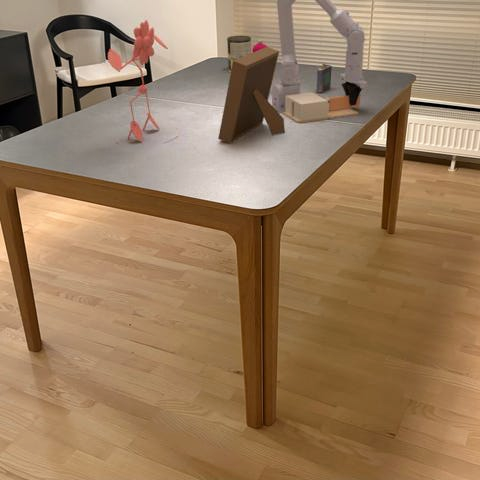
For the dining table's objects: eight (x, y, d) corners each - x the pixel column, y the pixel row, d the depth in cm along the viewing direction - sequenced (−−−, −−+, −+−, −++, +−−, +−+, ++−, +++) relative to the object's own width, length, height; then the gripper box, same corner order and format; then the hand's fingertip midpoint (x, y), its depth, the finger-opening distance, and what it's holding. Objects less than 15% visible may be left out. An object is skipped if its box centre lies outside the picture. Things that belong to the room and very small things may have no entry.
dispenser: (297, 123, 204) (298, 104, 201) (282, 113, 213) (282, 95, 210) (358, 114, 211) (359, 96, 208) (341, 105, 220) (341, 88, 218)
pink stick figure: (110, 147, 187) (97, 27, 170) (153, 122, 208) (146, 13, 191) (154, 154, 182) (145, 30, 165) (194, 128, 203) (189, 16, 186)
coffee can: (223, 70, 272) (222, 37, 266) (241, 67, 278) (240, 34, 272) (238, 74, 265) (237, 40, 259) (256, 70, 271) (255, 37, 265)
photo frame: (218, 141, 189) (215, 58, 177) (251, 122, 206) (250, 45, 194) (261, 149, 183) (262, 63, 171) (291, 128, 199) (294, 49, 187)
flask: (321, 93, 235) (322, 65, 230) (314, 92, 236) (315, 64, 231) (331, 88, 242) (333, 60, 237) (325, 87, 243) (326, 59, 238)
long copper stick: (308, 113, 210) (308, 101, 208) (306, 112, 211) (307, 100, 209) (359, 106, 216) (360, 94, 214) (357, 105, 217) (358, 93, 215)
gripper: (375, 67, 204) (372, 108, 210) (353, 59, 216) (351, 97, 222) (357, 70, 201) (354, 110, 208) (335, 61, 213) (333, 100, 220)
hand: (351, 104), depth 215 cm, fingers closed on long copper stick
